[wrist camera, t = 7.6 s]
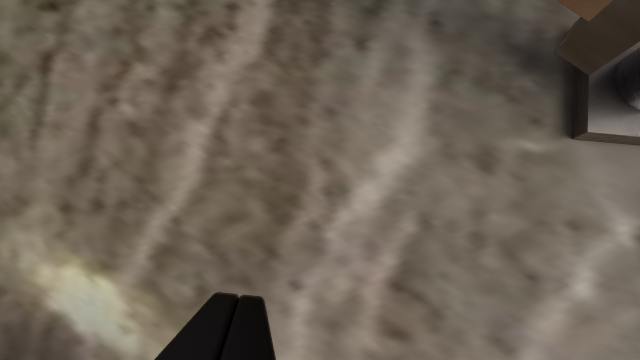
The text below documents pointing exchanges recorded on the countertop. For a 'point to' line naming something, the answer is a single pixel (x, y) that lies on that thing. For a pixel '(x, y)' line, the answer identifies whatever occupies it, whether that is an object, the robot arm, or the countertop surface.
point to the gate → (600, 32)
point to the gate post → (609, 101)
